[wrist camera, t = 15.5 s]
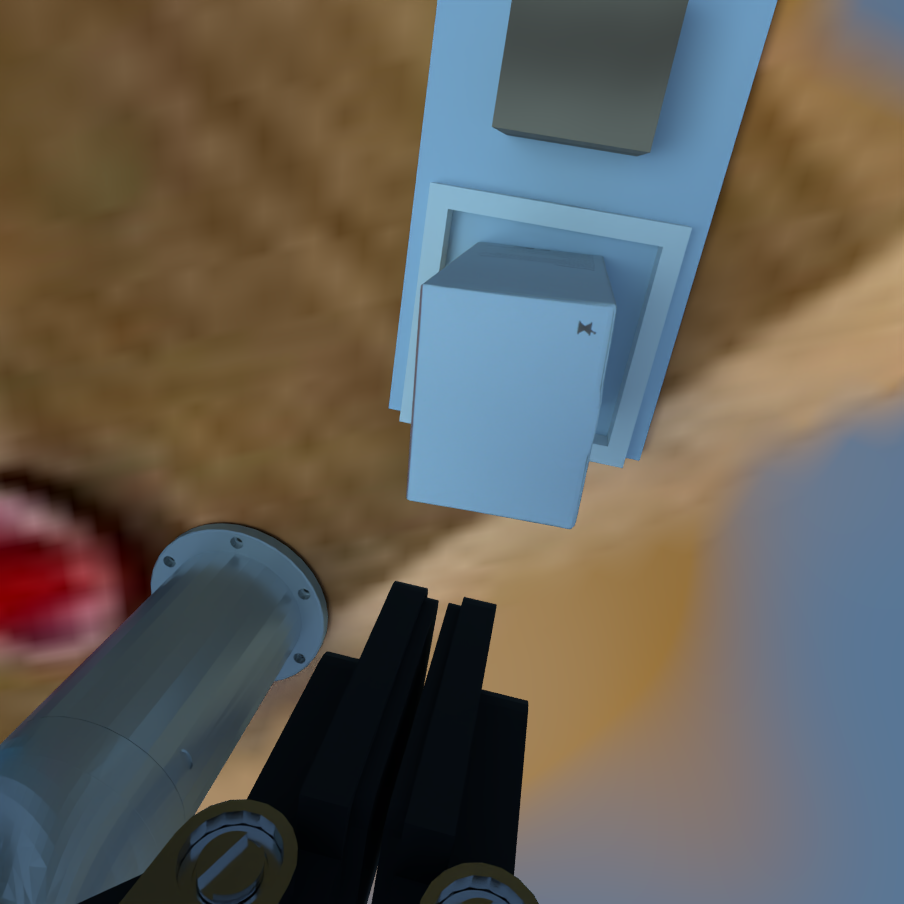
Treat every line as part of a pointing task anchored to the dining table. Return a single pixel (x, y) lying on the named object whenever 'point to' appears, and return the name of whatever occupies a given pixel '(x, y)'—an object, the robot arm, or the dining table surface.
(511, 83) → the dark gray block
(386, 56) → the dining table surface
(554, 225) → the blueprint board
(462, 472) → the small box
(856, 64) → the dining table surface
